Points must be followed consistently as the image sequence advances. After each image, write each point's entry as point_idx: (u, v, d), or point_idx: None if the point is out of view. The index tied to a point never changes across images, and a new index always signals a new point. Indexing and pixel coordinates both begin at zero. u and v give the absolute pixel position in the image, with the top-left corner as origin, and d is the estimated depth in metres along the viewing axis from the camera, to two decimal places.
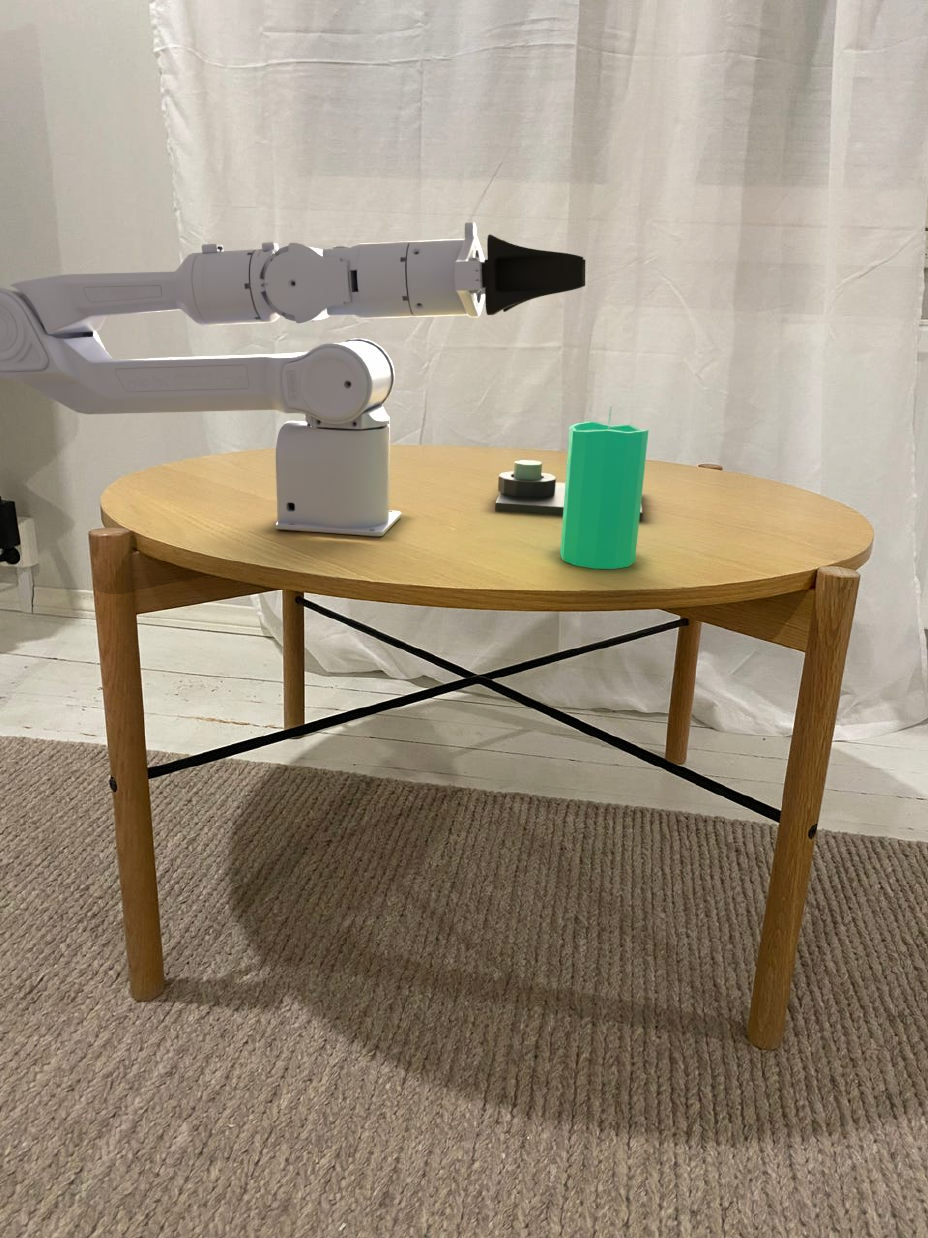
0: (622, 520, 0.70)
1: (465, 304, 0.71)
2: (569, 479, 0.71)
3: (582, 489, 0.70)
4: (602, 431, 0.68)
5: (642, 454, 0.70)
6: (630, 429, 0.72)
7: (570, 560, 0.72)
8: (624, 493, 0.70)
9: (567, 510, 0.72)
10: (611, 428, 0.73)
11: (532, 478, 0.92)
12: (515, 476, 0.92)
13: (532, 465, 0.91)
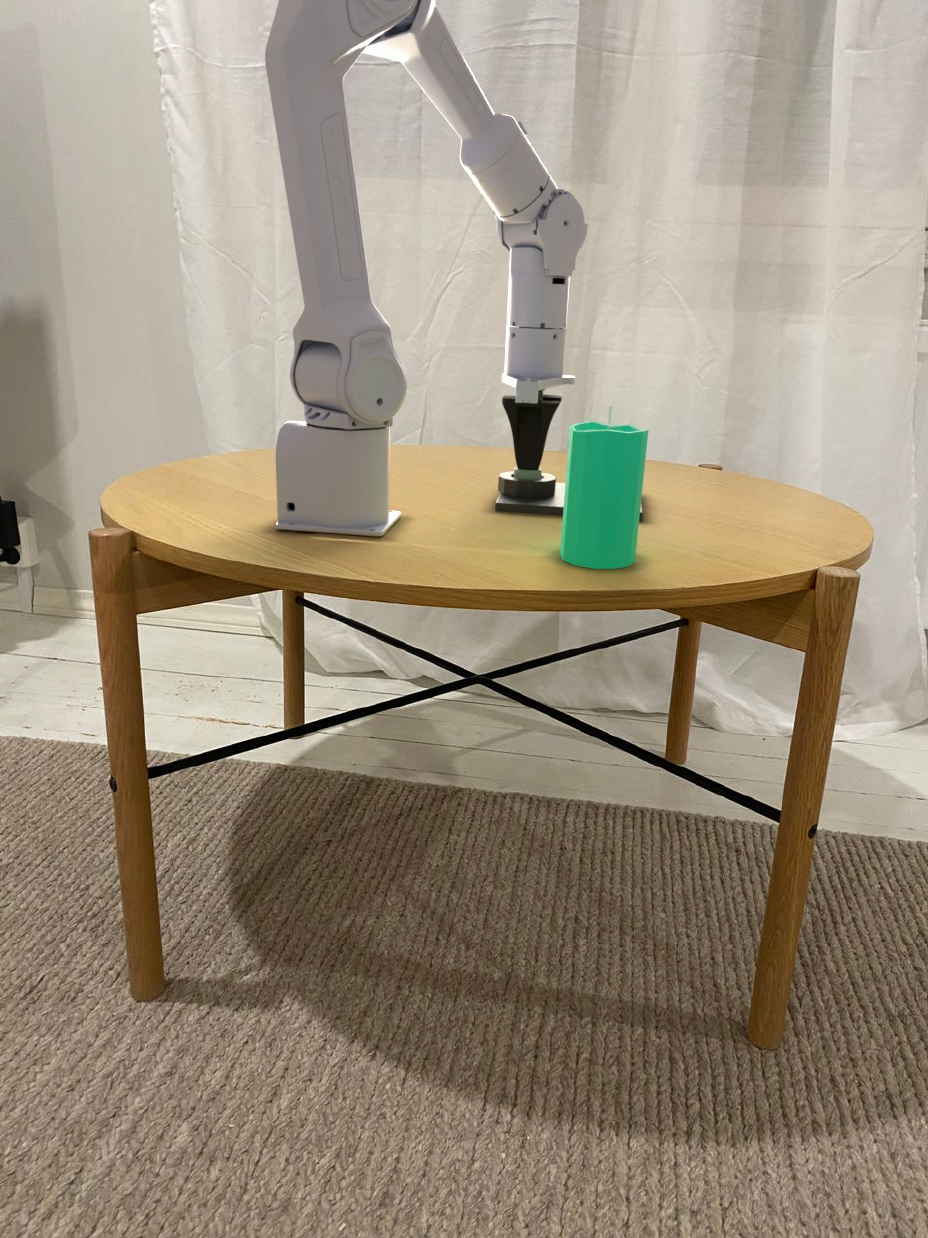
0: (622, 520, 0.70)
1: (509, 378, 0.87)
2: (569, 479, 0.71)
3: (582, 489, 0.70)
4: (602, 431, 0.68)
5: (642, 454, 0.70)
6: (630, 429, 0.72)
7: (570, 560, 0.72)
8: (624, 493, 0.70)
9: (567, 510, 0.72)
10: (611, 428, 0.73)
11: None
12: None
13: (532, 471, 0.91)
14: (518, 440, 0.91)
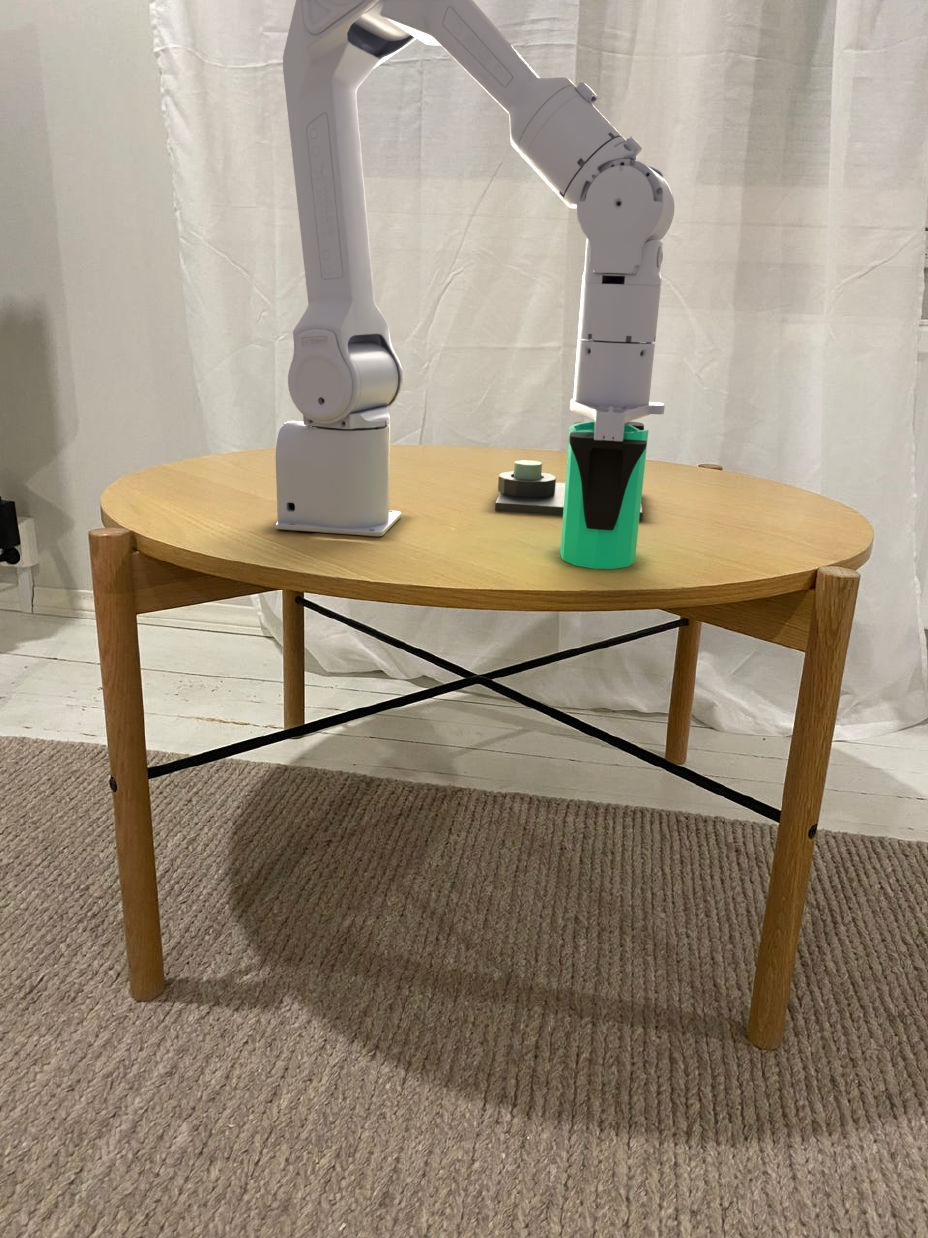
0: (622, 520, 0.70)
1: (582, 407, 0.67)
2: (569, 479, 0.71)
3: None
4: None
5: (642, 454, 0.70)
6: (630, 429, 0.72)
7: (570, 560, 0.72)
8: None
9: (567, 510, 0.72)
10: None
11: (532, 478, 0.92)
12: (515, 476, 0.92)
13: (532, 465, 0.91)
14: (589, 491, 0.69)
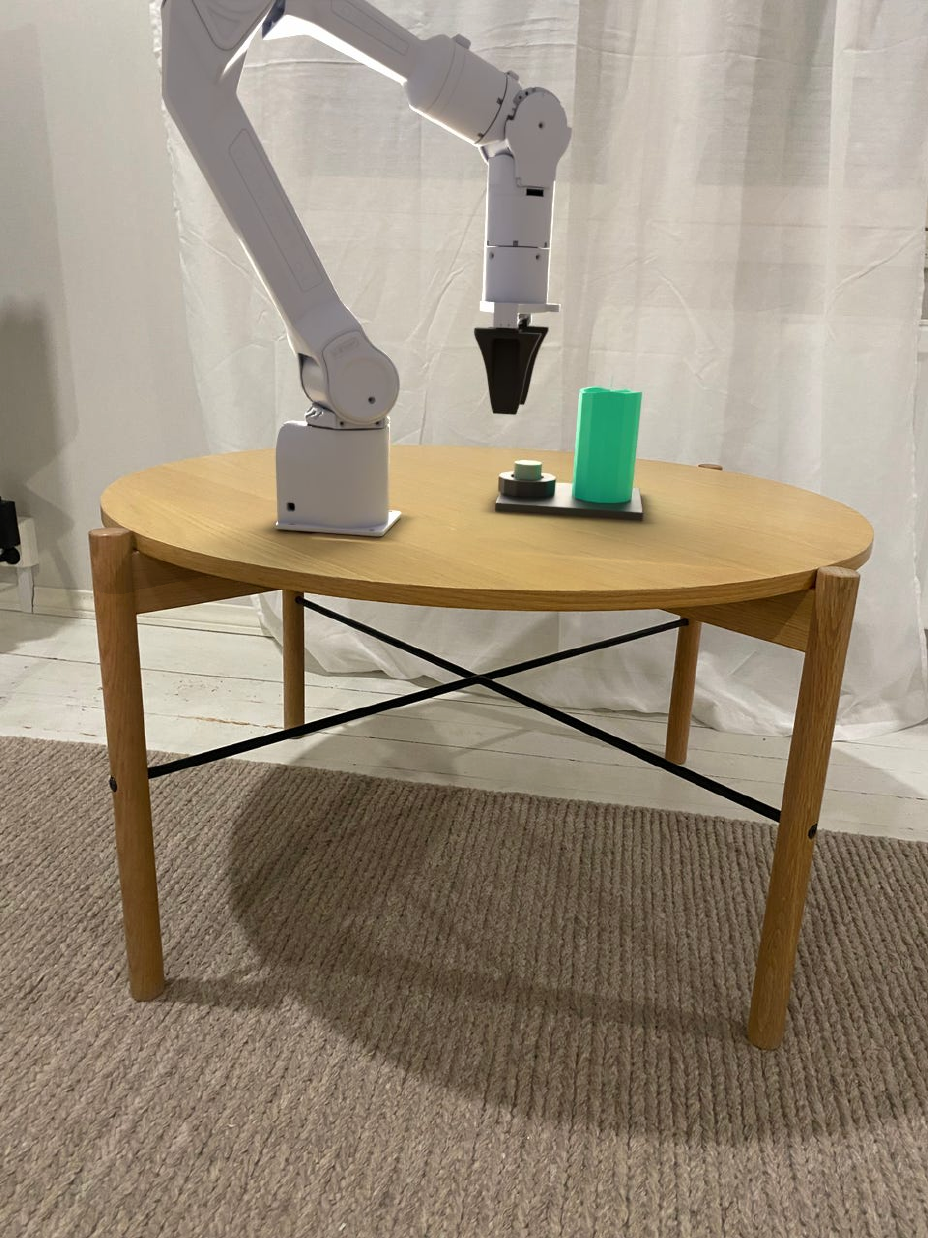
0: (621, 463, 0.89)
1: (487, 304, 0.78)
2: (579, 431, 0.89)
3: (590, 438, 0.88)
4: (605, 392, 0.86)
5: (637, 411, 0.88)
6: (627, 392, 0.91)
7: (580, 497, 0.91)
8: (623, 441, 0.88)
9: (577, 456, 0.90)
10: None
11: (532, 478, 0.92)
12: (515, 476, 0.92)
13: (532, 465, 0.91)
14: (493, 379, 0.79)
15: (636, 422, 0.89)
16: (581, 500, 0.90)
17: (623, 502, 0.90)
